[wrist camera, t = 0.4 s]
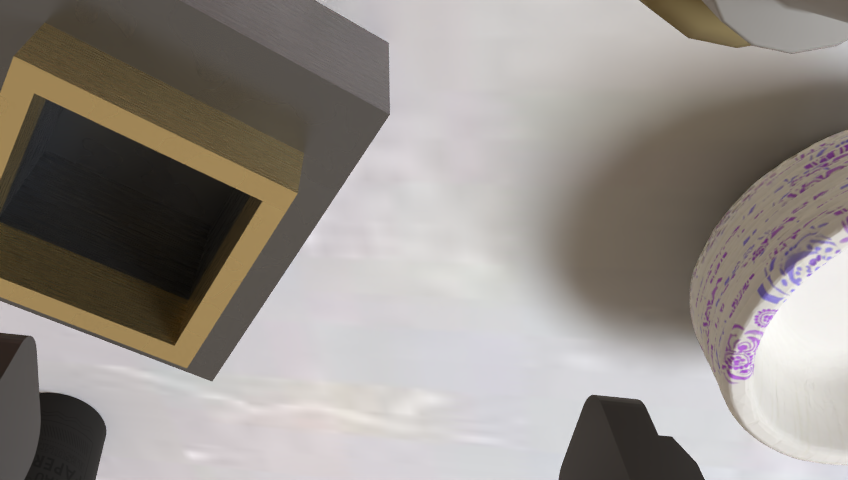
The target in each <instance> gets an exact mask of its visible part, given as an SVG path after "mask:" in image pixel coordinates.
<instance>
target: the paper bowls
mask: <svg viewBox="0 0 848 480" xmlns="http://www.w3.org/2000/svg"><path fill="white" fill-rule="evenodd" d="M690 315H691V320H692V324H693V328H694V331H695V334H696V337H697V339H698V341H699V343H700V345H701V348H702V350H703V352H704V354H705V357H706V359H707V361H708V363H709V364H710V367H711V369H712V372H713V374H714V376H715V378H716V380H717V382H718V385H719V387H720V390H721V393H722V395H723V397H724V399H725V402H726V404H727V406H728V408H729V410H730V412H731V413H732V415H733V416H734V417H735V419H736V420H737V421H738V423H739V424H740V425H741V426H742V427H743V428H744V429H745V430H746V431H747V432H748V433H749V434H751V435H752V436H753V437H754V438H756V439H757V440H759V441H760V442H761V443H763V444H765V445H767V446H768V447H770V448H772V449H774V450H776V451H778V452H780V453H782V454H785V455H787V456H790V457H792V458H796V459H800V460H804V461H810V462H816V463H822V464H831V465H848V130H845V131H842V132H839V133H837V134H834V135H831V136H829V137H827V138H825V139H823V140H821V141H819V142H816V143H814V144H813V145H811V146H810V147H808V148H806V149H805V150H803V151H801V152H799V153H797V154H796V155H794V156H792V157H790V158H789V159H787V160H785V161H784V162H782V163H781V164H780V165H779V166H777V167H776V168H774V169H773V170H771V171H770V172H768V173H767V174H765V175H764V176H763V177H761V178H760V179H759V180H758V181H756V182H755V183H754V184H753V185H752V186H751V187H750V188H749V189H748V190H747V191H746V192H745V193H744V194H743V195H742V196H741V197H740V198H739V199H738V200H737V201H736V202H735V203H734V204H733V206H732V207H731V208H730V209H729V210H728V211H727V213H726V214H725V215H724V216H723V217H722V219H721V220H720V222H719V223H718V224H717V226H716V227H715V228H714V230H713V231H712V233H711V235H710V237H709V239H708V241H707V243H706V245H705V247H704V249H703V251H702V253H701V254H700V256H699V259H698V261H697V264H696V266H695V268H694V270H693V274H692V278H691V284H690Z"/></svg>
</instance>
